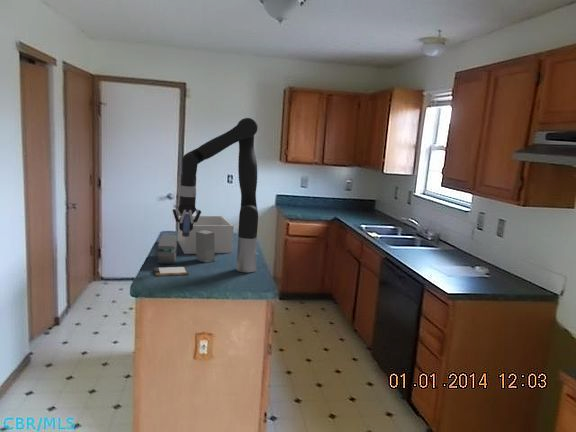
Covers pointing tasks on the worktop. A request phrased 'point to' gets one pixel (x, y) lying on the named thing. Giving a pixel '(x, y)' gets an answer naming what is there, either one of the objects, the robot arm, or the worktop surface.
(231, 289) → the worktop surface
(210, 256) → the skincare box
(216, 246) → the storage bin
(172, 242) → the grey curved block
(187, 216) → the marker
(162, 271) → the paper
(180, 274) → the clipboard
